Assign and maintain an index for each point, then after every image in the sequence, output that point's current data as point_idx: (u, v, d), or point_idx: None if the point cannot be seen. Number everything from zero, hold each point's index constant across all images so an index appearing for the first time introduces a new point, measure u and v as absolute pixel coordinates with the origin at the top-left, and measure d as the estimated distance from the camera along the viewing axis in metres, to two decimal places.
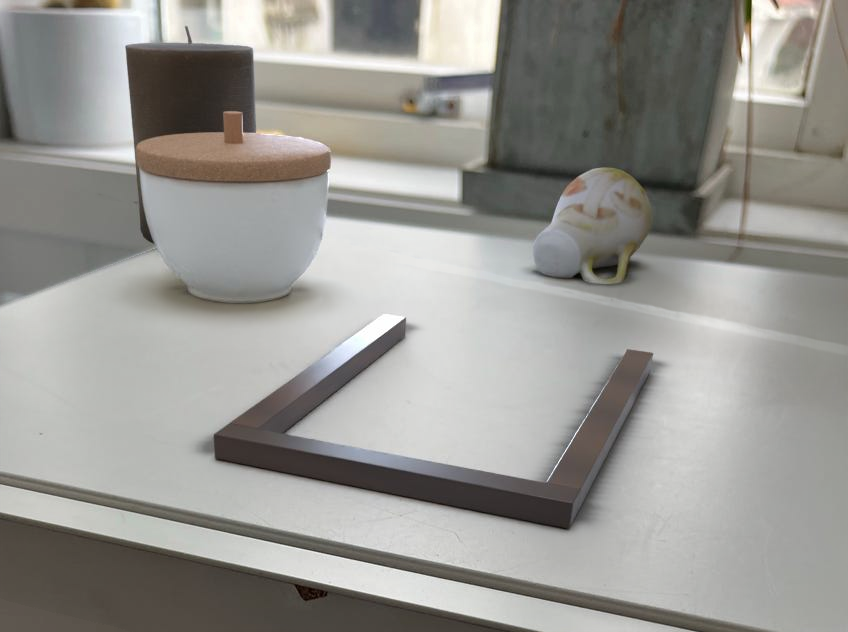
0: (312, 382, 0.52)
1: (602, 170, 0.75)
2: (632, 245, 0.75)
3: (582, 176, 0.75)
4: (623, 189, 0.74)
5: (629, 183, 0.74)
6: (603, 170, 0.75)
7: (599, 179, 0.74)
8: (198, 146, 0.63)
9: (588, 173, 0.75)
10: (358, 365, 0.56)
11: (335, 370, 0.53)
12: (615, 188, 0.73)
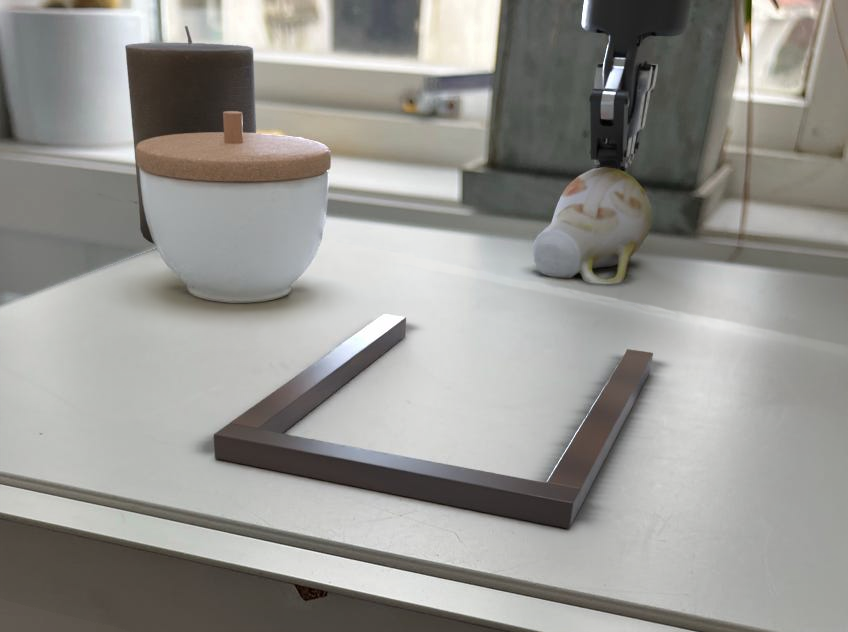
0: (312, 382, 0.52)
1: (602, 170, 0.75)
2: (632, 245, 0.75)
3: (582, 176, 0.75)
4: (623, 189, 0.74)
5: (629, 183, 0.74)
6: (603, 170, 0.75)
7: (600, 179, 0.74)
8: (198, 146, 0.63)
9: (588, 173, 0.75)
10: (358, 365, 0.56)
11: (335, 370, 0.53)
12: (615, 188, 0.73)
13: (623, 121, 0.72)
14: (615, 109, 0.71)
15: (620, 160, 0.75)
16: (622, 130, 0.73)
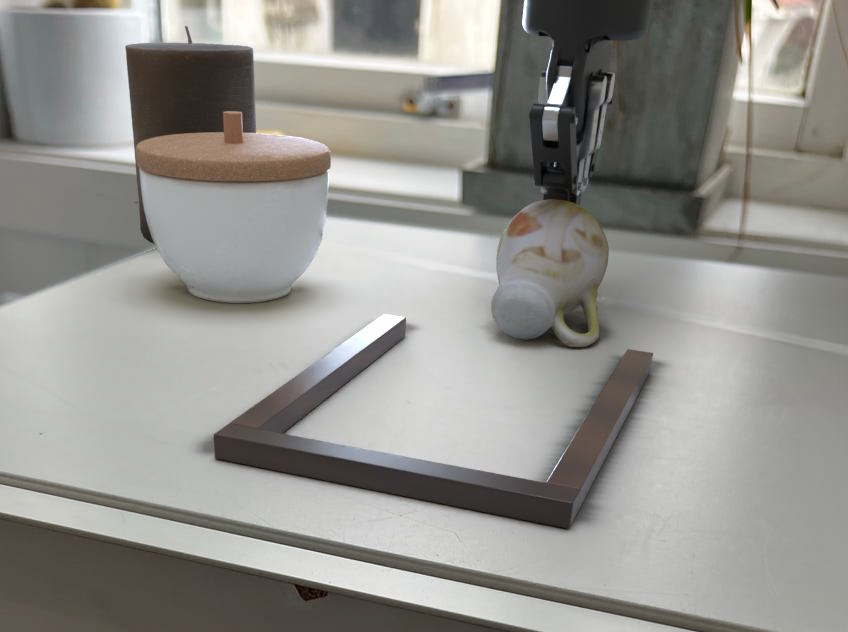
0: (312, 382, 0.52)
1: (552, 203, 0.63)
2: (596, 289, 0.64)
3: (529, 211, 0.63)
4: (583, 225, 0.62)
5: (587, 217, 0.63)
6: (553, 203, 0.63)
7: (554, 214, 0.62)
8: (198, 146, 0.63)
9: (536, 208, 0.63)
10: (358, 365, 0.56)
11: (335, 370, 0.53)
12: (575, 224, 0.62)
13: (570, 143, 0.60)
14: (559, 128, 0.59)
15: (569, 187, 0.63)
16: (569, 153, 0.61)
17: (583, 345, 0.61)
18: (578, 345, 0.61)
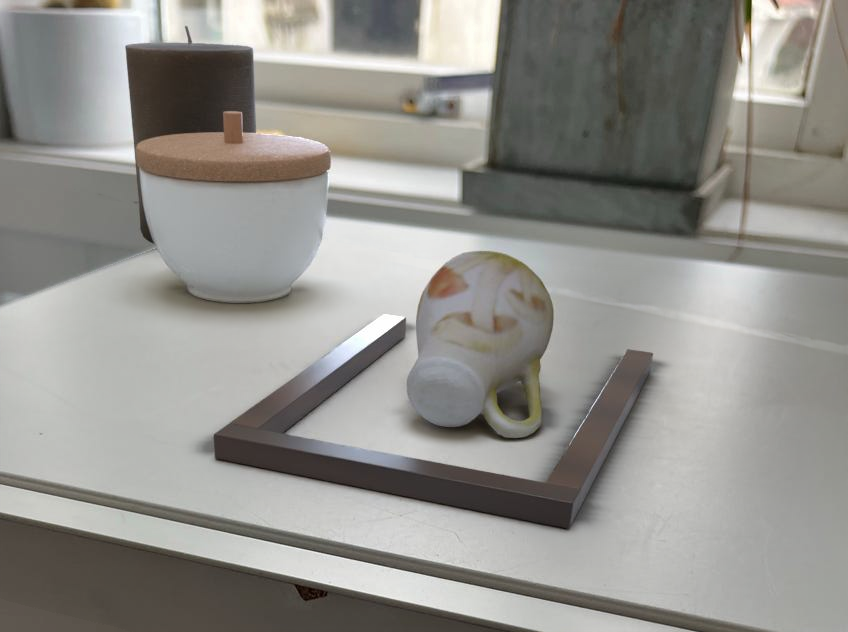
0: (312, 382, 0.52)
1: (482, 257, 0.51)
2: (538, 361, 0.52)
3: (454, 267, 0.51)
4: (520, 285, 0.50)
5: (525, 274, 0.51)
6: (483, 257, 0.51)
7: (484, 271, 0.50)
8: (198, 146, 0.63)
9: (462, 262, 0.51)
10: (358, 365, 0.56)
11: (335, 370, 0.53)
12: (510, 283, 0.50)
13: None
14: None
15: None
16: None
17: (521, 435, 0.49)
18: (515, 436, 0.49)
